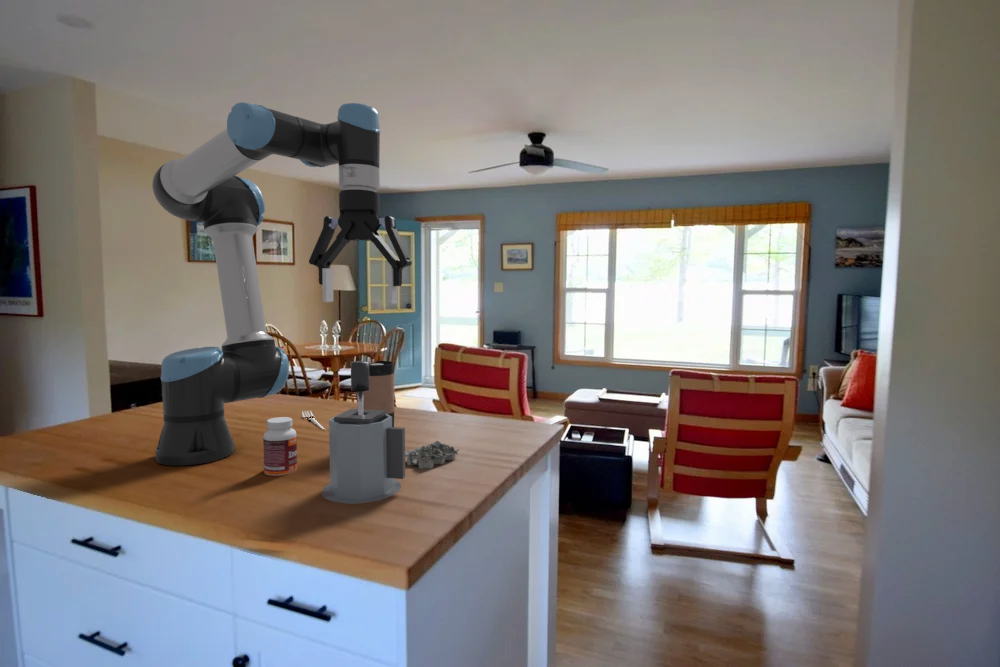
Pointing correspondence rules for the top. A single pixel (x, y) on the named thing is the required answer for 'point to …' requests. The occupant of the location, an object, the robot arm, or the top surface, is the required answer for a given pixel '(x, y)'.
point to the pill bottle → (280, 447)
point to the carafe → (365, 454)
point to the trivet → (332, 497)
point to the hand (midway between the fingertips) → (360, 303)
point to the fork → (312, 418)
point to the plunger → (360, 382)
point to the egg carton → (430, 455)
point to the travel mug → (380, 388)
